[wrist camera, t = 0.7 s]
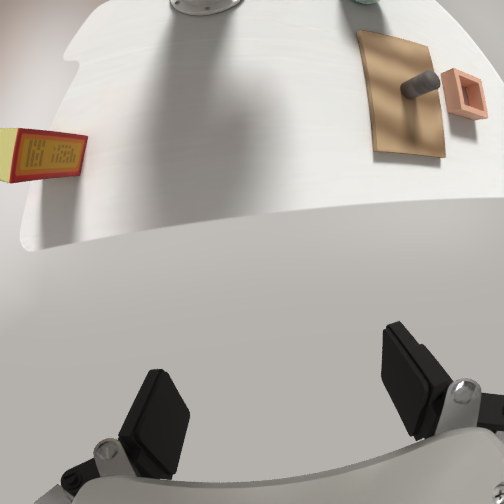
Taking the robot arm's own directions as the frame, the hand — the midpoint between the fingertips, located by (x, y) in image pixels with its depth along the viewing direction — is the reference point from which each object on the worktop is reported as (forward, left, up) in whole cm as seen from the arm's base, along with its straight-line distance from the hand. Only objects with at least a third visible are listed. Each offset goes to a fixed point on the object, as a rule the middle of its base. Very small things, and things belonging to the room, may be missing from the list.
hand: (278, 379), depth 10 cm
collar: (-23, +36, -29) cm, 52 cm away
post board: (-21, +23, -29) cm, 43 cm away
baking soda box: (-16, -32, -29) cm, 46 cm away
